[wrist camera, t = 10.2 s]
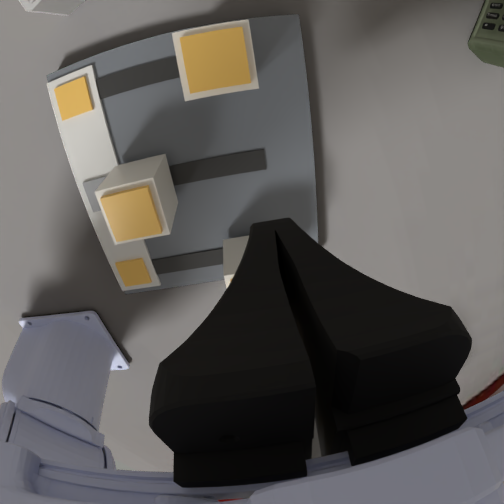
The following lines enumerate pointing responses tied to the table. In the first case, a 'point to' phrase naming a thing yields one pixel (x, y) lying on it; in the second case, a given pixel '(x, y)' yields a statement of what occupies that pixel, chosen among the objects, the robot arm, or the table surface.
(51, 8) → the power supply unit
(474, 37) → the handheld radio
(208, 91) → the switch near
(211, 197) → the switch unit
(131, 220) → the switch mid
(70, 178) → the table surface
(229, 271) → the switch far
